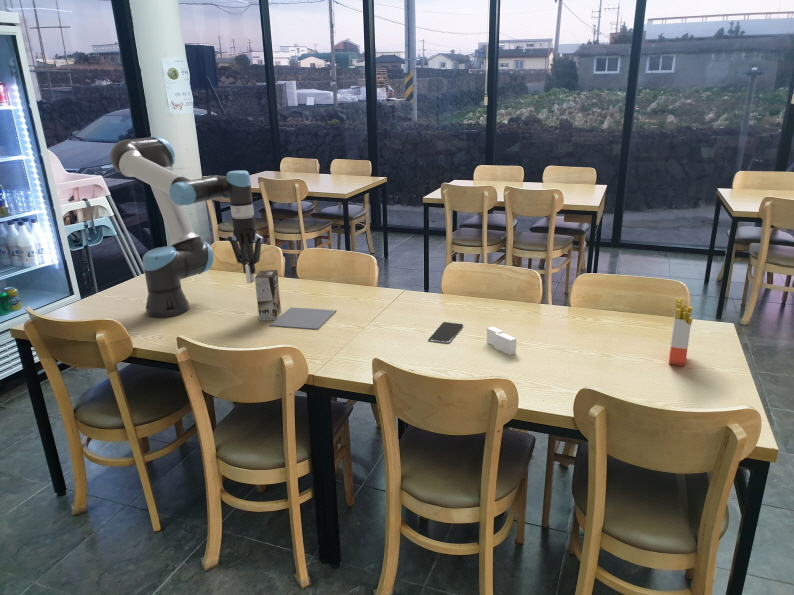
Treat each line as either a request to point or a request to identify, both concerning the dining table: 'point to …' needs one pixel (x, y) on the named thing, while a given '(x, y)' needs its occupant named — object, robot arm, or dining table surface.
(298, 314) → the rubber mat
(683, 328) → the french fries container
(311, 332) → the dining table surface
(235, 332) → the dining table surface
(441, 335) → the smartphone
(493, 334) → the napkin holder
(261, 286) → the coffee box
